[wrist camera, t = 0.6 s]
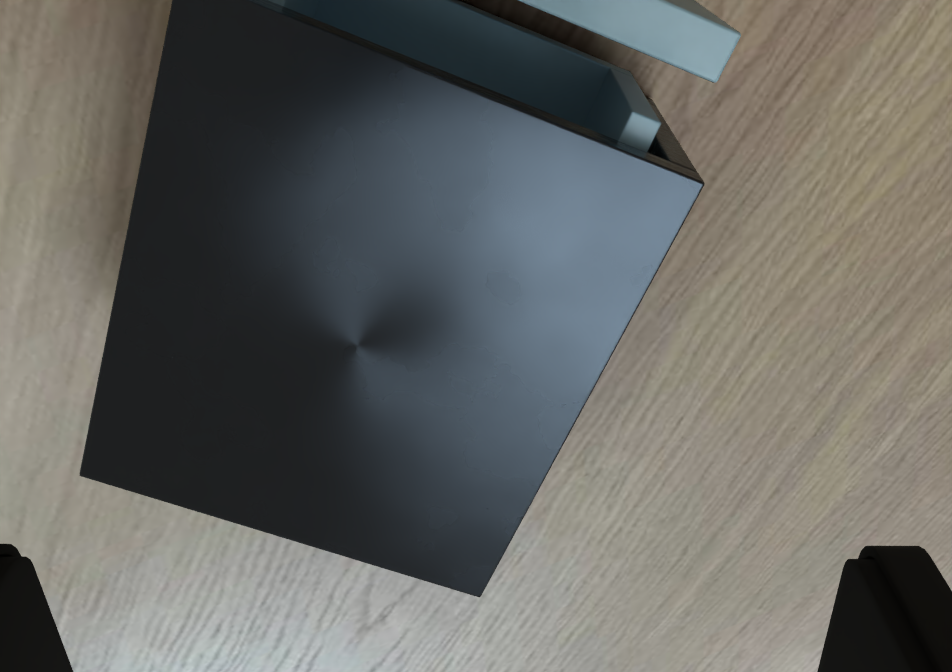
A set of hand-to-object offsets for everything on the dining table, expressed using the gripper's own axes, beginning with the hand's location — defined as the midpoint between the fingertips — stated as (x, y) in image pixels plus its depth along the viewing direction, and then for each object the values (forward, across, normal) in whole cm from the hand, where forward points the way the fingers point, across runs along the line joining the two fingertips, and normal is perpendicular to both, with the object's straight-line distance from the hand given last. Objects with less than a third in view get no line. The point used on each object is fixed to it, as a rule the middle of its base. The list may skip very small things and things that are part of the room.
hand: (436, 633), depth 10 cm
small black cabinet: (+20, +3, +3) cm, 21 cm away
